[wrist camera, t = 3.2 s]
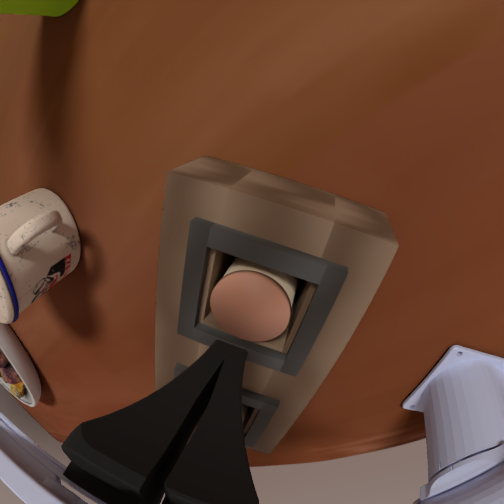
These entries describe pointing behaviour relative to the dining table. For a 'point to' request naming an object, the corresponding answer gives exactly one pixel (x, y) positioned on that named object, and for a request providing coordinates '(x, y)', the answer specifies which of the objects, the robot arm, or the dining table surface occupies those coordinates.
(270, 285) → the peg
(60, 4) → the soap dispenser
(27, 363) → the bowl
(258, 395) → the walnut block
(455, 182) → the dining table surface
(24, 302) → the teacup with lid
